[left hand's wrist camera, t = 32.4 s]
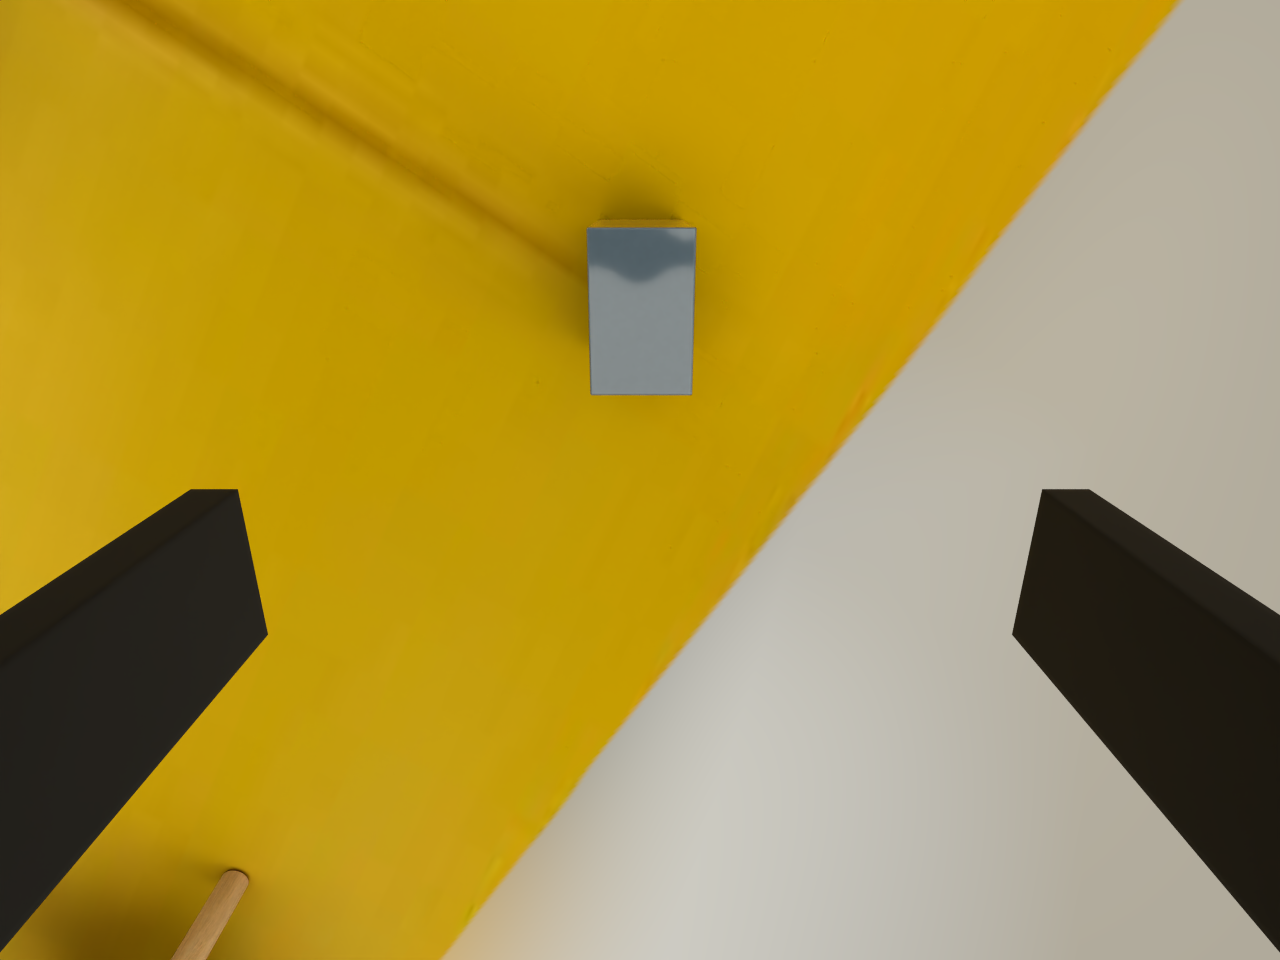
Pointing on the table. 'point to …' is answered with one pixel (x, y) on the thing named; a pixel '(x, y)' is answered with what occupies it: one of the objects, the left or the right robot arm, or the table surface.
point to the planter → (212, 917)
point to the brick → (641, 306)
